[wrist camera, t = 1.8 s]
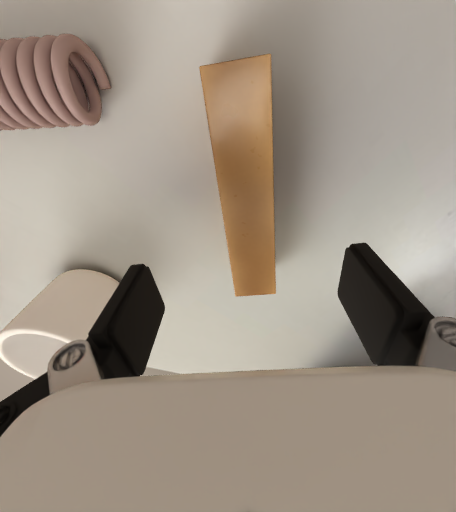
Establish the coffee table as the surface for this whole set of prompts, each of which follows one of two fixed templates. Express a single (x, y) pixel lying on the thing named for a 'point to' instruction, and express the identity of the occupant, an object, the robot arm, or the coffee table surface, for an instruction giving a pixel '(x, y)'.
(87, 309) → the mug
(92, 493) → the robot arm
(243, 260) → the stick
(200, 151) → the coffee table surface
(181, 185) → the coffee table surface
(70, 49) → the coil
